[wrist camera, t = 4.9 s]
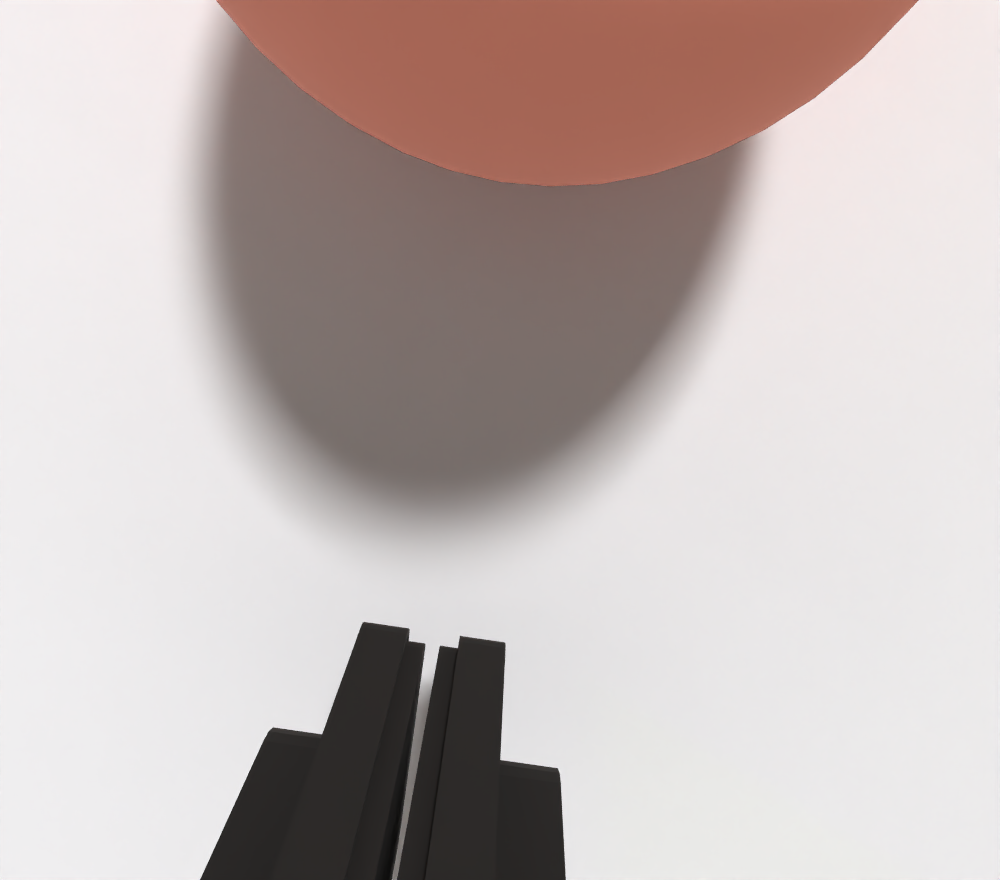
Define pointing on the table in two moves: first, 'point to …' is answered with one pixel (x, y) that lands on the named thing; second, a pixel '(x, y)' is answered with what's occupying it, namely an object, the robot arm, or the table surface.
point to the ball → (563, 75)
